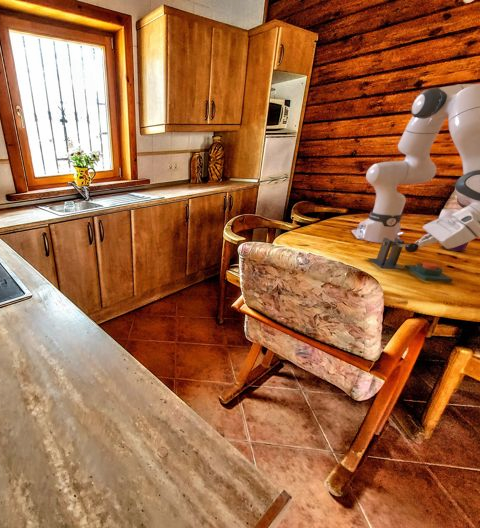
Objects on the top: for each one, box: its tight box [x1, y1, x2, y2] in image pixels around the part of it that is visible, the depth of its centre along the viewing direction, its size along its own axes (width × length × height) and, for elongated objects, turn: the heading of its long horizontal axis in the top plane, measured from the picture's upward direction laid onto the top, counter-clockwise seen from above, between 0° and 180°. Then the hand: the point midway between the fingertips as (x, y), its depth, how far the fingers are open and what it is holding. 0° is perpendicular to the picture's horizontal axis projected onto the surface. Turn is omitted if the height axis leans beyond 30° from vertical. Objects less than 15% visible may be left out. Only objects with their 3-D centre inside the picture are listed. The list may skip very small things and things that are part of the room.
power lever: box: [390, 240, 420, 253], centre depth 108 cm, size 14×4×4 cm, turn 165°
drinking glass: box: [438, 208, 459, 218], centre depth 138 cm, size 7×7×15 cm
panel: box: [403, 263, 454, 283], centre depth 107 cm, size 12×8×4 cm, turn 165°
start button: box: [422, 261, 439, 270], centre depth 106 cm, size 4×4×2 cm
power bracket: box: [368, 237, 405, 270], centre depth 115 cm, size 10×8×12 cm
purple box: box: [442, 242, 469, 252], centre depth 127 cm, size 7×7×12 cm
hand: (417, 244), depth 102 cm, fingers closed, pressing on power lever
